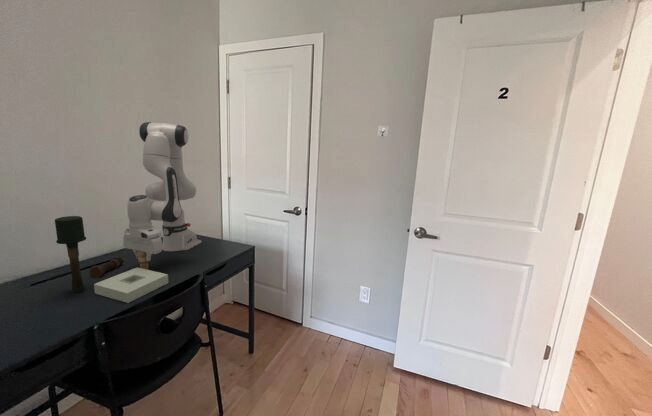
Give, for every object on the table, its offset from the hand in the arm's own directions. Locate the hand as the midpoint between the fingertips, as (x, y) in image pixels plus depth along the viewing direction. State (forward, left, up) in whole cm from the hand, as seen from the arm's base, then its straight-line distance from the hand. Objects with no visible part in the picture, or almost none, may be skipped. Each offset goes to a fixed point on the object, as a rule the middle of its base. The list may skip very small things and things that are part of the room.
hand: (143, 259), depth 130 cm
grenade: (+23, -7, -6) cm, 25 cm away
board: (+13, +10, -6) cm, 17 cm away
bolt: (+5, -15, -7) cm, 18 cm away
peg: (0, 0, -6) cm, 6 cm away
